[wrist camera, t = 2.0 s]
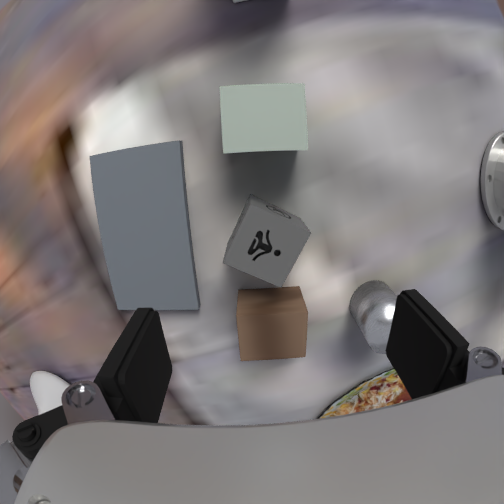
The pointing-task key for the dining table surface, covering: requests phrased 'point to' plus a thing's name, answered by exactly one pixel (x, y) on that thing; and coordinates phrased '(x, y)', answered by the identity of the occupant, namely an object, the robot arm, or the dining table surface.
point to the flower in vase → (47, 390)
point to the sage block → (263, 117)
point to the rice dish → (370, 395)
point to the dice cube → (266, 241)
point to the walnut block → (271, 323)
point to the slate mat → (146, 226)
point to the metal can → (374, 312)
